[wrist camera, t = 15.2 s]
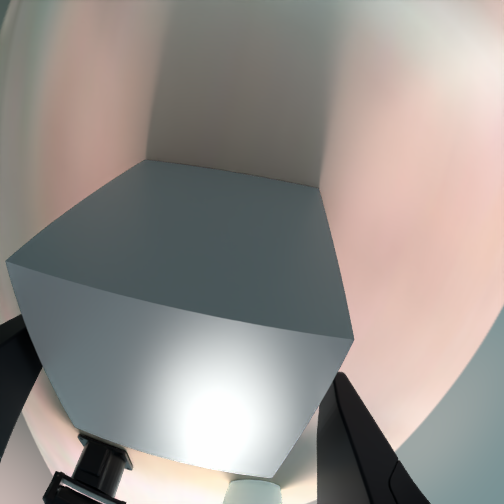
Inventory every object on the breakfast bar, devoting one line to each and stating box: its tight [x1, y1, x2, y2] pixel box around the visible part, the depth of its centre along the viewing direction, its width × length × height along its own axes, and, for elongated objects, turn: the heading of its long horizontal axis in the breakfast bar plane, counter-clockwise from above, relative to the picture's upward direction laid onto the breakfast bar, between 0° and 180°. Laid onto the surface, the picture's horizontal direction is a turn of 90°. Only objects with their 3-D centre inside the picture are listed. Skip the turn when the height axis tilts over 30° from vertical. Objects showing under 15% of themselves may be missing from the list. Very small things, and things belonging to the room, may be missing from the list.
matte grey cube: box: [5, 160, 354, 478], centre depth 11 cm, size 8×8×9 cm
